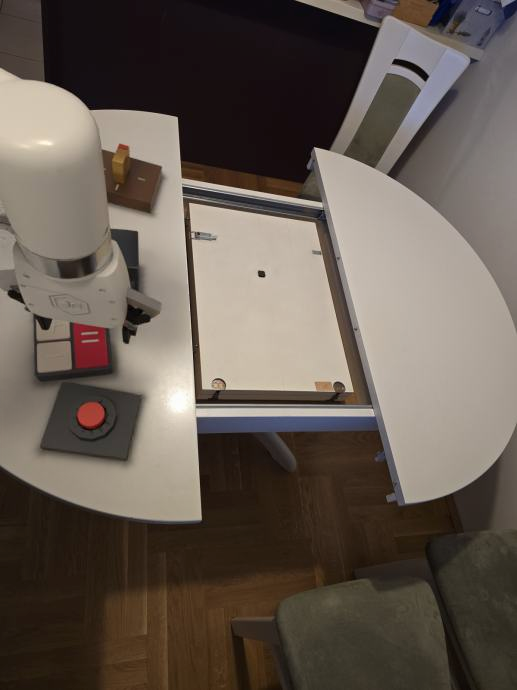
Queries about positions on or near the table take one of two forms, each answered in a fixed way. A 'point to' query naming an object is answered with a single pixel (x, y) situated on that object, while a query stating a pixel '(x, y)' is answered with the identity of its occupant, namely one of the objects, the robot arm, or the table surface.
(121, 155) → the lock knob
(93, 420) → the bell button
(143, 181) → the plate
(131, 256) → the box
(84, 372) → the calculator
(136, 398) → the bell block
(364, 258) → the table surface
